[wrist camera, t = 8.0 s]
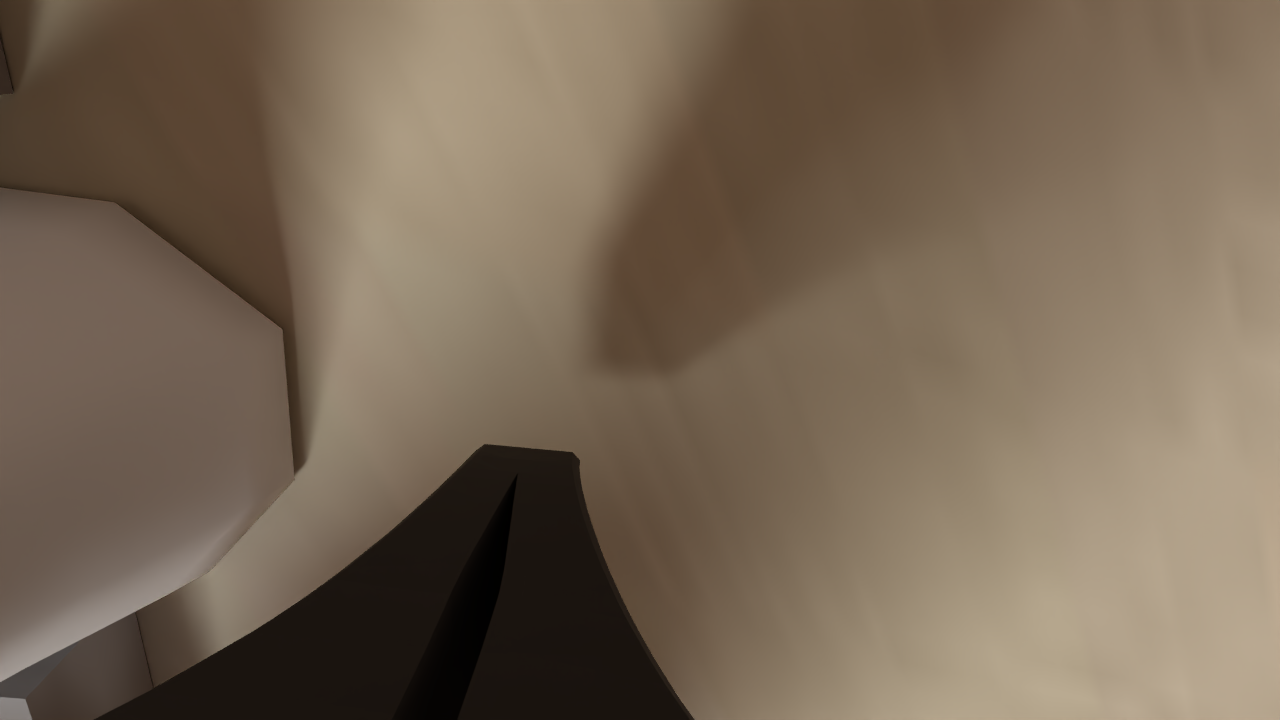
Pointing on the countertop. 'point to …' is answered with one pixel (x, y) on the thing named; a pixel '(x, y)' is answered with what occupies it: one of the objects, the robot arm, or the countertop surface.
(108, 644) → the spice rail
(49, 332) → the flask
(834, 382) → the countertop surface
